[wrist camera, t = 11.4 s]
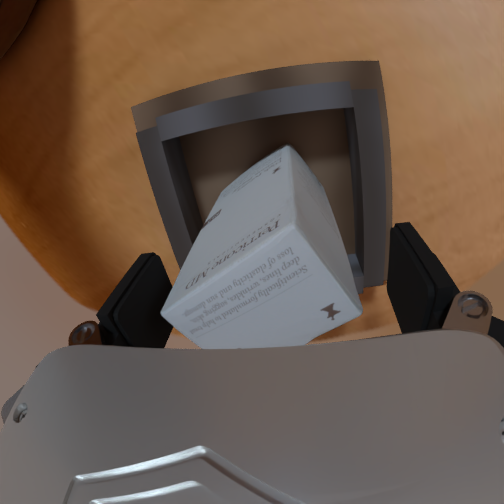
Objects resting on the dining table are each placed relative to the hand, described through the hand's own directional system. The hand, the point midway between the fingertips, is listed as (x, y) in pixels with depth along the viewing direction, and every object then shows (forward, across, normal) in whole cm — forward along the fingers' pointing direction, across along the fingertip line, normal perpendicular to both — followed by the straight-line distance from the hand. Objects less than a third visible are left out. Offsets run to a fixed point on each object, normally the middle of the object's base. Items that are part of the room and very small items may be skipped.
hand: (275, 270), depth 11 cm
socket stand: (+11, +1, 0) cm, 11 cm away
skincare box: (+10, +1, 0) cm, 10 cm away
